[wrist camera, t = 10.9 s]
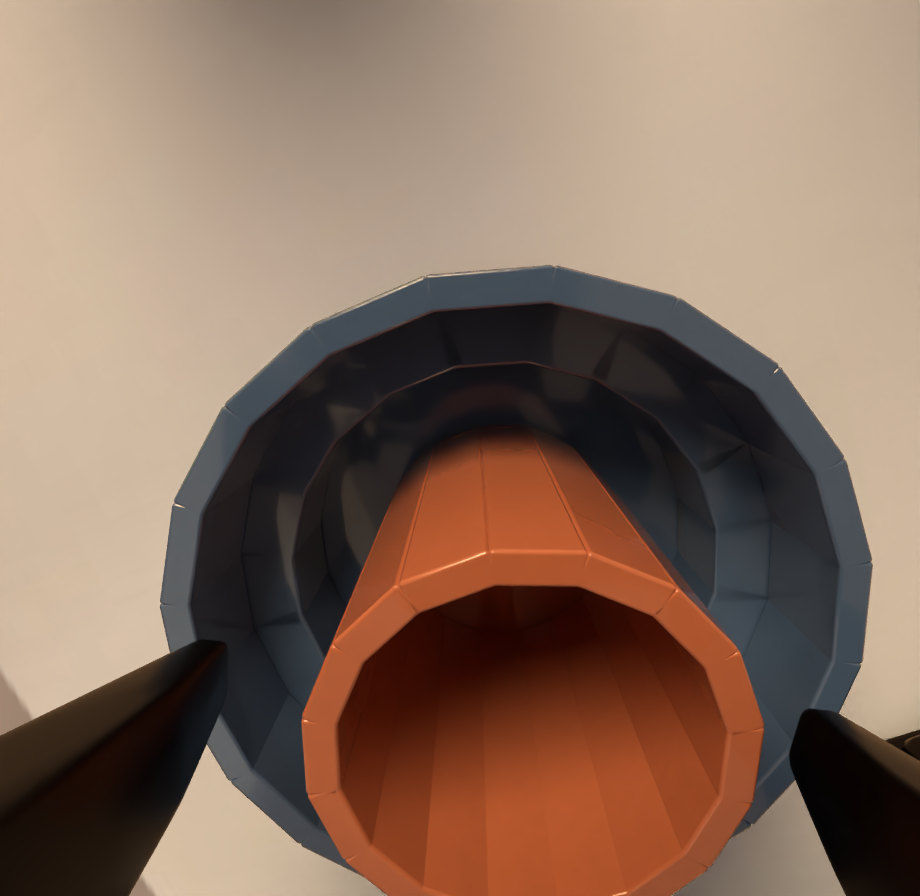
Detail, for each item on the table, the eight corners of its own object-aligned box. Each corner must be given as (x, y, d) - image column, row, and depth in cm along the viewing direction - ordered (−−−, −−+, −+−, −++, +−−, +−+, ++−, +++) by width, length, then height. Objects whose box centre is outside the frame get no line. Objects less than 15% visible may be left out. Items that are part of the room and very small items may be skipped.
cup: (644, 593, 16) (813, 868, 8) (439, 665, 16) (411, 983, 9) (569, 387, 14) (684, 477, 7) (349, 474, 15) (221, 649, 7)
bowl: (787, 643, 17) (936, 799, 11) (380, 777, 18) (343, 973, 13) (650, 198, 14) (762, 128, 9) (181, 398, 15) (26, 446, 10)
